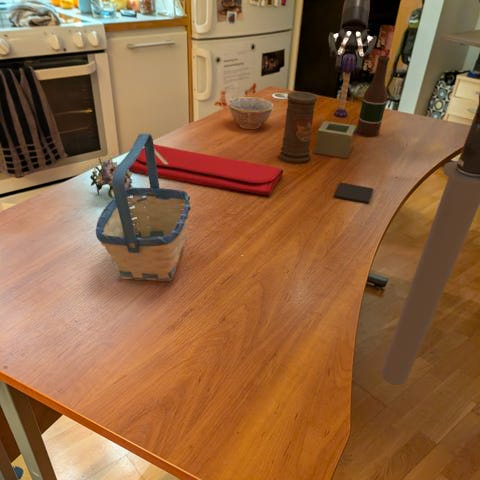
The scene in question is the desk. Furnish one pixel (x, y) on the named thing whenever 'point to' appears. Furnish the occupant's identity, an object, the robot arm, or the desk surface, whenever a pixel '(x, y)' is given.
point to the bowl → (250, 111)
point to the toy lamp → (345, 83)
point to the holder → (335, 139)
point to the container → (298, 127)
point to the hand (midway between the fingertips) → (348, 70)
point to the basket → (144, 222)
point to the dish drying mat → (210, 170)
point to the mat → (353, 193)
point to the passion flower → (108, 176)
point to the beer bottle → (374, 101)
